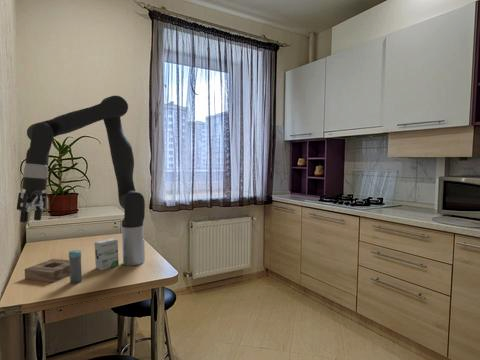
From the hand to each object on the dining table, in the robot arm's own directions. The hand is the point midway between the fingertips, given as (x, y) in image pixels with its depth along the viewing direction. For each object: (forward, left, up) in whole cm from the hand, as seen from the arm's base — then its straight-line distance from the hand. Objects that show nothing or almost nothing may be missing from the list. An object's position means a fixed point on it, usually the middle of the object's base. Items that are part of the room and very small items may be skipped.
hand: (30, 221), depth 116 cm
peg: (-9, +10, -25) cm, 29 cm away
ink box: (-27, +10, -25) cm, 39 cm away
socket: (-13, -5, -25) cm, 29 cm away
